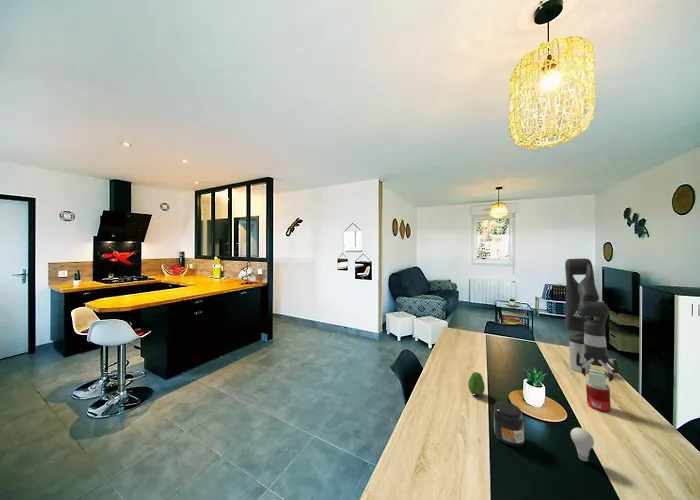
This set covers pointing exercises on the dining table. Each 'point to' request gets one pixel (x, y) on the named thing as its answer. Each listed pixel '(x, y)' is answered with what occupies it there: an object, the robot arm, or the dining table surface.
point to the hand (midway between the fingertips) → (597, 378)
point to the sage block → (597, 378)
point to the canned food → (598, 397)
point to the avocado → (476, 384)
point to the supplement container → (508, 424)
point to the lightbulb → (582, 442)
